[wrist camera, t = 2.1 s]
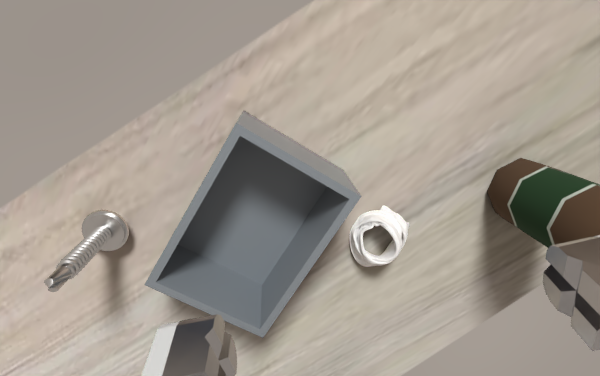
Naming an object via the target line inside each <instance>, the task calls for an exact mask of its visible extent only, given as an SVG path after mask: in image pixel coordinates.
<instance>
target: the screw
mask: <svg viewBox="0 0 600 376" xmlns="http://www.w3.org/2000/svg"><path fill="white" fill-rule="evenodd" d="M82 233H83V236H84V238H85V239H83V241H81V242H80V243H79V244H78V245H77V246H76V247H75V248H74V249H73V250H72V251H71V252H70V253H68V255H66V256H65V257H64V258H63V259H62V260H61V261H60V263H59V264H58V265H57V268H56V270H55V271H54V272H53V273H52V274H51V275H50V276H49V277H48V278H47V279H46V280H45V281H44V283H45V284H46V285H47V287H48V290H49V291H51V292H56V291H58V290H59V289H60V288H61V287H62V286H63V285H64V284H65V282H66V281H67V280H68V279H72V278H73V277H74V276H76V275H77V274H78V273H79V272H80V271H81V270H82V269H83V268H84V267H85V265H87V264H88V262H89V261H90V260H91V259H92V258H93V257H94V256H95V255H96V253H98V252H99V250H102V251H113V250H117V249H119V248H120V247H122V246H123V245H124V244H125V242H126V241H127V239H128V236H129V229H128V225H127V223H126V222H125V220H124V219H123V218H122V217H121V216H120V215H118V214H117V213H115V212H112V211H109V210H98V211H95V212H92V213H91V214H89V215H88V216H87V217H86V218H85V219H84V221H83V224H82Z"/></svg>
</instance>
